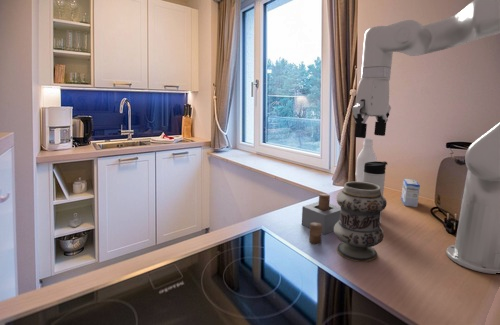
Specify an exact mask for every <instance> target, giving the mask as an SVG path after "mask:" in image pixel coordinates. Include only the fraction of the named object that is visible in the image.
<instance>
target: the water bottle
mask: <svg viewBox="0 0 500 325" xmlns="http://www.w3.org/2000/svg"><path fill="white" fill-rule="evenodd" d="M373 140H374V138H373V137H366V138H363V142H362V146H363V147H362V148H361V150H360V152H359V153H358V155H357V157H356V164H355V174H354V175H355V179H356V182H363V174H364V169H365V168H364V165H365V163H367V162H376V161H378V159H377V156H376V153H375V151H374V148H373V146H374V141H373Z"/></svg>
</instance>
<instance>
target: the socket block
mask: <svg viewBox="0 0 500 325" xmlns="http://www.w3.org/2000/svg"><path fill="white" fill-rule="evenodd" d="M318 207H319V201H317V202H313V203H309V204H306V205H303V206H302V208H301V211H302V212H301V225H302V226H305V227H306V228H309V229H310V224H311V223H320V224H321V225H322V234H321V235H326V234H329V233H332V232H334V226H335V224H336V223H337V222H338V221H339V220H340V211H341V206H337V205H334V204H332V203H329V210H327V211H322V210H319V209H318Z"/></svg>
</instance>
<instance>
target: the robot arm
mask: <svg viewBox="0 0 500 325" xmlns="http://www.w3.org/2000/svg"><path fill="white" fill-rule="evenodd" d="M495 35H500V0H472V1H471V2H470V3H468V4H467V5H466V6H465V7H464V8H463V9H462V10H460V11H459V12H458V13H455V14H454V15H452V16H450V17H448V18H445V19H442V20H439V21H435V22H433V23H429V24H424V25H423V24H422V23H420V22H418V21H417V20H414V19H406V20H405V19H404V20H401V21H398V22H396V23H395V22H394V23H392V24H388V25H377V26H373V27H370V28H368V29H367V30H366V31H365V33H364V37H363V49H362V64H361V72H360V73H361V75H360V76H361V77H360V80H359V82H358V86H357V90H356V97H355V103H354V106H352V108H351V109H352V116H353V119H354V121H353V122H354V123H355V126H354V128H355V129H354V137H355V138H359V139H364V138H367V137H366V136H367V127H368V123H367V121H368V119H369V117H375V119H376V121H375V122H374V123H375V124H374V132H373V135H375V136H379V137H380V136H381V137H385V136H386V130H387V122H388V121H389V119H388V118H389V116H390V113H391V110H392V107H391V105H390V104H389V103H390V81H391V73H392V64H393V54H394V52H395V53H399V54H400V53H401V54H404V55H407V56H409V57H417V56H418V57H419V56H422V55H427V54H428V55H429V54H432V53H436V52H440V51H445V50H447V49H451V48H455V47H457V46H461V45H465V44H468V43H470V42H474V41H476V40H481V39H482V38H487V37H492V36H495ZM464 156H465V157H464V158H465V159H464V162H465V166H466V168H467V172H466V177H465V182H464V189H463V195H462V200H461V206H460V213H459V219H458V224H457V231H456V238H455V243H454V244H451V245H449V246H448V247H447V248H446V256H447V257H449V259H450V260H451V261H453V262H455V263H456V264H458V265H459V266H462V267H463V268H467V269H469V270H472V271H476V272H480V273H483V274H489V275H497V274H496V273H498V272H500V122H498V123H497V124H495V126H493V127H492V128H491V129H489V130H488V131H486V132H485V133H484V134H482V135H481V136H479V137H477V138H476V139H475V140H474V141H473V142H472V143H471V144H470V145H469V147H468V148H467V149H466V152H465V155H464Z"/></svg>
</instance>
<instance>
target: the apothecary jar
mask: <svg viewBox="0 0 500 325" xmlns="http://www.w3.org/2000/svg"><path fill="white" fill-rule="evenodd" d="M335 199H336V203H337V204H338V205H339V207H341V211H340V220H339V221H338V222H337V223H336V224H335V226H334V231H333V233H334V234H335V236H336V238H337V239H339V241H341V243H340V244H338V246H337V248H336V251H337V253H338V254H339V256H341V257H343V258H345V259H347V260H350V261H354V262H360V263H362V262H363V263H364V262H365V263H366V262H371V261H374V260H376V258H377V257H378V251H377V250H376V249H375V248H374V247H375V246H377V245H379V244H380V243H382V242H383V241H384V237H385V232H384V230H383V229H382V227H381V226H380V224H381V220H380V211H381V212H382V211H384V210H385V209H386V207H387V200H386V198H385V197H384V195H383V196H382V195H381V192H380V187H379V186H378V185H376V184H372V183H367V182H357V181H347V182H345V183H344V184H343V188H342V190H340V191H339V192H338V193H337V195H336V198H335Z"/></svg>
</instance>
